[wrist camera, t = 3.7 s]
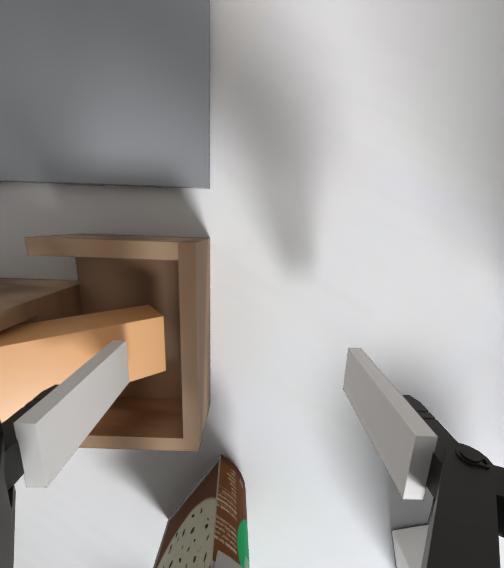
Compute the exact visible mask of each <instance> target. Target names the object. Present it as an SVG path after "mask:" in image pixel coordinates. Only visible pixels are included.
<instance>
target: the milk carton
mask: <svg viewBox="0 0 504 568" xmlns="http://www.w3.org/2000/svg"><path fill="white" fill-rule="evenodd" d="M428 526H429V525H423V526H417V527H411V528H404V529H398V530H393V531H392V536H393V543H394V551H395V558H396V566H397V568H421V565H422V559H423V554H424V548H425V543H426V537H427V531H428ZM500 568H501V567H500Z"/></svg>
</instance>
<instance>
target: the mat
mask: <svg viewBox="0 0 504 568" xmlns="http://www.w3.org/2000/svg"><path fill="white" fill-rule="evenodd" d="M0 181H13V182H41V183H69V184H97V185H125V186H153V187H181V188H209V189H210V0H0Z"/></svg>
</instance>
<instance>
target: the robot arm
mask: <svg viewBox="0 0 504 568" xmlns="http://www.w3.org/2000/svg"><path fill="white" fill-rule="evenodd" d="M129 382H130V381H129V369H128V356H127V343H126V340H113V341H111V342H110V343H109V344H108V345H107V346H105V347H104V348H103V349H102V350H101V351H99V352H98V353H97V354H96V355H95V356H93V357H92V358H91V359H90V360H88V361H87V362H86V363H85V364H84V365H82V366H81V367H80V368H79V369H78V370H76V371H75V372H74V373H73V374H72V375H70V376H69V377H68V378H67V379H66V380H64V381H63V382H62V383H61V384H60V385H57V384H55V385H53V386H52V387H50V388H48V389H46V390H44V391H42V392H41V393H40V394H38V395H37V396H36V397H35V398H33V400H32V401H30V402H28V403H27V404H26V405H25V406H24V407H22V408H21V409H19V410H18V411H17V412H16V413H14V414H13V415H12V416H11V417H9V418H8V419H7V420H6V421H4V422H3V423H2V424H1V420H0V568H13V564H14V530H15V496H16V491H15V486H14V484H15V483H16V482H17V481H18V480H19V478H20V477H21V476H22V475H23V474H24V479H25V484H26V487H36V488H47V487H48V486H49V485H50V483H51V482H52V481H53V479H54V478H55V477H56V476H57V474H58V473H59V472H60V470H61V469H62V468H63V467H64V465H65V464H66V463H67V461H68V460H69V459H70V458H71V456H72V455H73V454H74V452H75V451H76V450H77V449H78V447H79V446H80V445H81V444H82V442H83V441H84V440H85V438H86V437H87V436H88V435H89V433H90V432H91V431H92V429H93V428H94V427H95V426H96V424H97V423H98V422H99V420H100V419H101V418H102V417H103V415H104V414H105V413H106V411H107V410H108V409H109V408H110V406H111V405H112V404H113V402H114V401H115V400H116V399H117V397H118V396H119V395H120V394H121V392H122V391H123V390H124V388H125V387H126V386H127V385H128V383H129ZM343 390H344V392H345V393H346V395H347V397H348V399H349V401H350V403H351V405H352V406H353V408H354V410H355V412H356V414H357V416H358V417H359V419H360V421H361V423H362V425H363V427H364V428H365V430H366V432H367V434H368V436H369V438H370V439H371V441H372V443H373V445H374V447H375V449H376V451H377V452H378V454H379V456H380V458H381V460H382V462H383V463H384V465H385V467H386V469H387V471H388V473H389V474H390V476H391V478H392V480H393V482H394V484H395V486H396V487H397V489H398V491H399V493H400V495H401V497H402V498H403V499H418V500H424V495H425V491H426V487H427V488H428V489H429V491H430V492H431V494H432V495H433V497H434V500H433V504H432V508H431V512H430V516H429V520H428V521H429V526H428V531H427V537H426V543H425V548H424V554H423V559H422V565H421V568H500V554H499V536H501V537H504V468H503V467H499V466H495V465H493V464H492V463H491V462H490V461H489V459H488V458H487V457H486V456H484V455H483V454H482V453H480V452H479V451H477V450H475V449H474V448H472V447H470V446H467V445H464V444H461V443H458V442H457V441H456V440H455V439H454V438H453V437H452V436H451V435H450V434H449V433H448V432H447V430H446V429H445V428H444V427H443V426H442V425H441V424H440V423H439V422H438V421H437V420H435V418H434V417H433V415H432V414H431V413H429V412H428V410H427V409H426V408H425V407H424V406H423V405H422V404H421V403H420V402H419V401H417V400H416V399H414V398H413V397H411V396H410V395H401V394H400V392H399V391H398V390H397V389H396V388H395V387H394V386H393V384H392V383H391V382H390V381H389V380H388V379H387V377H386V376H385V375H384V374H383V373H382V372H381V371H380V369H379V368H378V367H377V366H376V365H375V364H374V362H373V361H372V360H371V359H370V358H369V357H368V355H367V354H366V353H365V352H364V351H363V350H362V349H361V348H348V354H347V362H346V369H345V377H344V385H343Z"/></svg>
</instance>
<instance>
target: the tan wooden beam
mask: <svg viewBox="0 0 504 568" xmlns="http://www.w3.org/2000/svg"><path fill="white" fill-rule="evenodd" d="M113 340H126V343H127V356H128V369H129V381H130V382H131V381H135V380H138V379H141V378H144V377H147V376H150V375H154V374H157V373H160V372H163V371H166V362H165V339H164V316H163V315H161V314H160V313H159V312H158V311H157V310H155V309H154V308H153V307H152V306H150V305H143V306H137V307H130V308H124V309H117V310H111V311H104V312H98V313H91V314H85V315H78V316H72V317H65V318H59V319H53V320H46V321H40V322H33V323H27V324H20V325H14V326H11V327H9V328H7V329H4V330H2V331H0V420H1V422H4V421H6V420H7V419H8V418H9V417H11V416H12V415H13V414H14V413H16V412H17V411H18V410H19V409H21V408H22V407H24V406H25V405H26V404H27V403H28V402H30V401H32V400H33V398H35V397H36V396H37V395H38V394H40V393H41V392H42V391H44V390H46V389H48V388H50V387H52V386H53V385H55V384H57V385H60V384H61V383H62V382H63V381H64V380H66V379H67V378H68V377H69V376H70V375H72V374H73V373H74V372H75V371H76V370H78V369H79V368H80V367H81V366H82V365H84V364H85V363H86V362H87V361H88V360H90V359H91V358H92V357H93V356H95V355H96V354H97V353H98V352H99V351H101V350H102V349H103V348H104V347H105V346H107V345H108V344H109V343H110V342H111V341H113Z"/></svg>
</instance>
